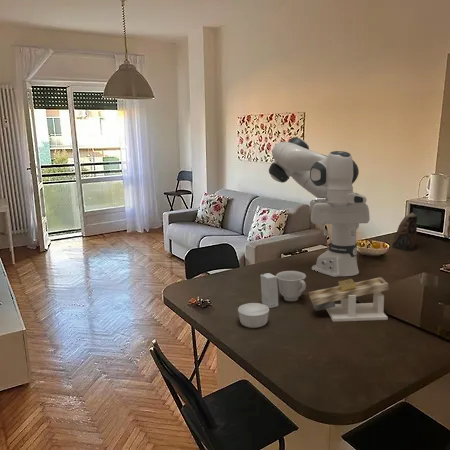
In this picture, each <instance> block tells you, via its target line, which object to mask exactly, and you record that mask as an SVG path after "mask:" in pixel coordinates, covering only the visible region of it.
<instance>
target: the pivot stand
mask: <svg viewBox="0 0 450 450" xmlns="http://www.w3.org/2000/svg"><path fill="white" fill-rule="evenodd" d="M372 294H373V295H372V296H373V298H372V302H365V303H364V302H359V303H357V297H356V295H348V298H347V299H342V300H340V303H335V307H332V308H327V309H325V311H326V312H327V314H328V315H329V317H330V319H331V321H332V322H356V321H357V322H359V321H386V320H387V321H388V318H389V317H388V315H387V314H386V313H385V312H384V309H385V308H384V307H385V305H384V304H385V295H384V294H383V293H382V291H381V292H376V293H372Z"/></svg>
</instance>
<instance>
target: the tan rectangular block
mask: <svg viewBox="0 0 450 450" xmlns="http://www.w3.org/2000/svg"><path fill="white" fill-rule="evenodd" d="M337 282H338V286H339V289H340V291H341V292H344V291H349V290H354V289H356V285H355V281H354V280H353V278H348V279H344V280H339V281H337Z"/></svg>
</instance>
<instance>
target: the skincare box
mask: <svg viewBox="0 0 450 450" xmlns="http://www.w3.org/2000/svg"><path fill="white" fill-rule="evenodd" d="M259 275H260V287H261V288H260V289H261V290H260V291H261V304H264V305H266V306H268V308H269V309H272V308H278V307H279V286H278V279H277V277H276V275H274V274H272V273H270V272H268V273H262V274H259Z"/></svg>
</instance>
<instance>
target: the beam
mask: <svg viewBox="0 0 450 450" xmlns="http://www.w3.org/2000/svg"><path fill="white" fill-rule="evenodd" d="M354 282H355V281H354ZM355 285H356V289H354V290H349V291H344V292H341V291H340V289H339V285H337V286H332V287H328V288H322V289H317V290H314V291H309V292H308V296H309V299H310V301H311V303H312V306H313V308H314V310H315V311H316V312H317V311H323V310H326V309H327V308H332V307H335V304H336V303H335V302H337V301H341V300H342V299H347V298H348V295H356V298H357V297H362V296H365V295H371V294H373V293H376V292H381V293H382V292H385V291H389V290H390V287H389V286H390V285H389V283H388V282H387V281H386V280H385V279H384V278H383V277H381V276H380V277H375V278H370V279H366V280H365V279H364V280H361V281H357V282H355Z"/></svg>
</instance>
